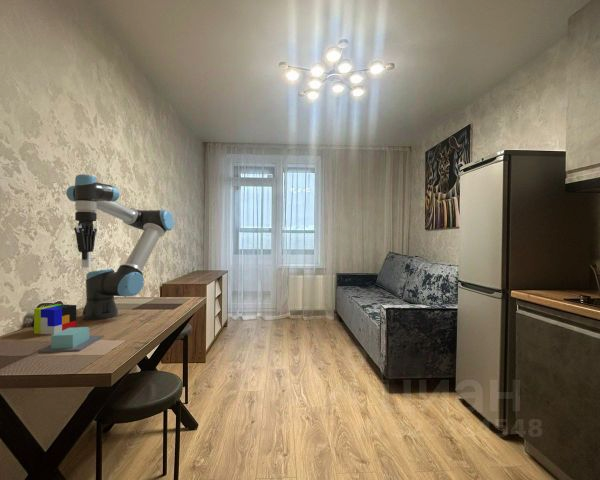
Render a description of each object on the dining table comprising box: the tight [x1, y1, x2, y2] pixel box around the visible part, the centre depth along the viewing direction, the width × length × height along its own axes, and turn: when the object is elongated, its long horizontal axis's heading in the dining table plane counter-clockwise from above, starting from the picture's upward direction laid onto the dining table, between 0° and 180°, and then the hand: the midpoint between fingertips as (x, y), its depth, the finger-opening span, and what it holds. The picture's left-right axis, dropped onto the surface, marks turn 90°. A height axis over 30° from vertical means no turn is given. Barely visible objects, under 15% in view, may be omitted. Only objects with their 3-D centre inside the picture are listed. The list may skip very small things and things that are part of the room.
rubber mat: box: [37, 334, 104, 354], centre depth 115 cm, size 16×13×1 cm
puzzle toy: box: [33, 303, 77, 336], centre depth 133 cm, size 10×10×10 cm
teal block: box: [50, 326, 90, 349], centre depth 114 cm, size 4×7×10 cm
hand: (86, 267), depth 135 cm, fingers closed
